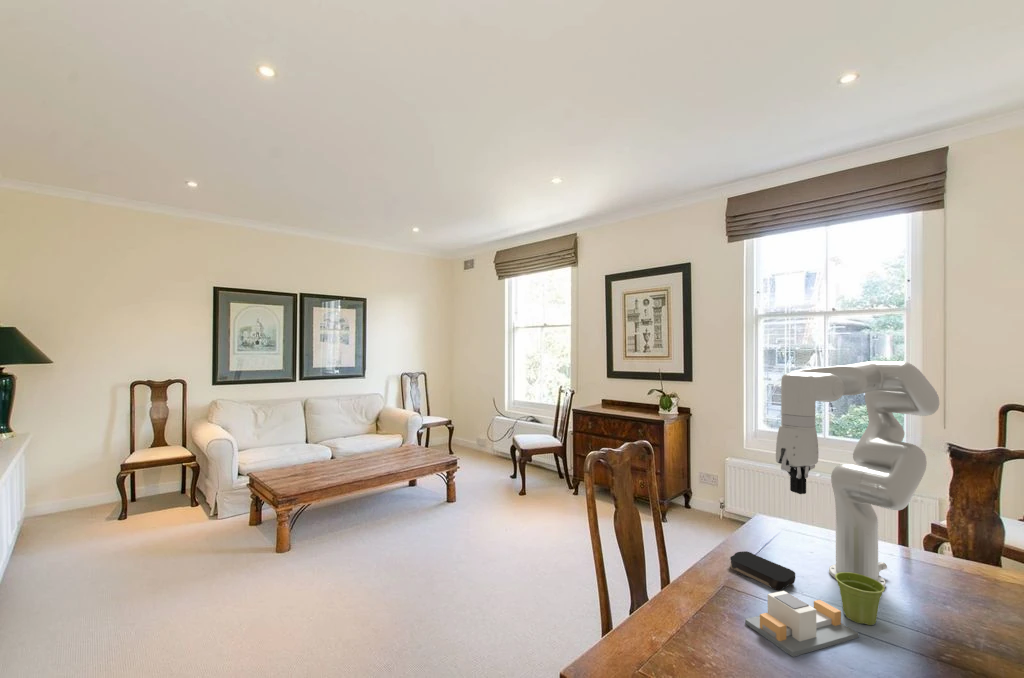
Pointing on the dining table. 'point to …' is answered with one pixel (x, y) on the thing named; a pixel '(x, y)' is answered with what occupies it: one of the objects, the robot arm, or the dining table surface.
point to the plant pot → (859, 596)
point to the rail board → (826, 635)
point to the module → (793, 614)
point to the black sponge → (762, 570)
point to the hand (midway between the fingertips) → (798, 492)
